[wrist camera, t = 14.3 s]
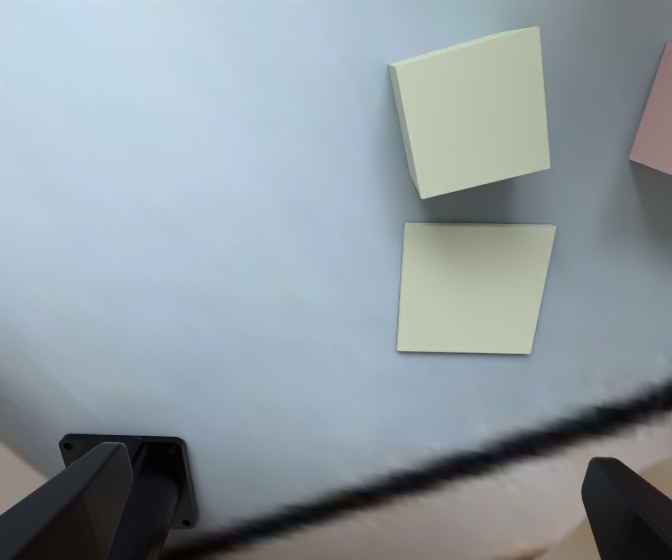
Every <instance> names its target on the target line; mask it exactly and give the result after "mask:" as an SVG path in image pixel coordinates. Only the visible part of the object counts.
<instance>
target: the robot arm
mask: <svg viewBox="0 0 672 560" xmlns="http://www.w3.org/2000/svg"><path fill="white" fill-rule="evenodd" d="M172 446H174V447H176V448H174V447H172ZM59 448H60V451H61V454H62V457H63V460H64V463H65V466H66V469H64V470H63V471H61V472H60V473H59V474H57V475H56V476H55V477H53V478H52V479H50V480H49V481H48V482H46V483H45V484H43V485H42V486H41V487H39V488H38V489H36V490H35V491H34V492H33V493H31V494H30V495H28V496H27V497H25V498H24V499H22V500H21V501H20V502H18V503H17V504H16V505H14V506H13V507H12V508H10V509H9V510H7V511H6V512H4V513H3V514H2V515H0V560H158V558H159V555H160V553H161V550H162V548H163V545H164V543H165V540H166V537H167V535H168V532H169V530H170V528H173V529H191V528H194V526H195V524H196V522H197V512H196V506H195V500H194V495H193V489H192V484H191V478H190V472H189V467H188V461H187V455H186V450H185V444H184V442H183V441H182V440H181V439H180V438H178V437H164V436H130V435H97V434H66V435H65V436H64V437H63V438H62V439H61V441H60V442H59ZM581 495H582V500H583V504H584V507H585V510H586V513H587V517H588V520H589V523H590V526H591V529H592V533H593V536H594V539H595V542H596V545H597V548H598V552H599V555H600V558H601V560H672V500H671V499H670V498H668V497H667V496H666V495H664V494H663V493H662V492H660V491H659V490H658V489H656V488H655V487H654V486H652V485H651V484H650V483H649V482H647V481H646V480H645V479H643V478H642V477H641V476H639V475H638V474H637V473H635V472H634V471H633V470H631V469H630V468H629V467H627V466H626V465H625V464H623V463H622V462H621V461H619V460H618V459H616V458H612V457H593V458H592V459H591V460H590V462H589V464H588V468H587V471H586V474H585V478H584V481H583V484H582V489H581Z"/></svg>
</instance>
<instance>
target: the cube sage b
mask: <svg viewBox="0 0 672 560" xmlns="http://www.w3.org/2000/svg"><path fill="white" fill-rule="evenodd" d="M388 68H389V73H390V78H391V83H392V88H393V93H394V98H395V103H396V108H397V113H398V118H399V123H400V128H401V133H402V138H403V143H404V148H405V153H406V158H407V163H408V168H409V172H410V175H411V177H412V179H413V182H414V184H415V186H416V188H417V191H418V193H419V195H420V198H421V199H425V198H429V197H433V196H437V195H441V194H446V193H450V192H454V191H458V190H462V189H466V188H471V187H475V186H479V185H483V184H487V183H491V182H495V181H500V180H504V179H508V178H512V177H516V176H520V175H524V174H529V173H533V172H537V171H541V170H545V169H549V168H550V156H549V143H548V130H547V118H546V105H545V92H544V79H543V66H542V54H541V41H540V28H539V26H536V27H530V28H523V29H517V30H511V31H505V32H500V33H496V34H493V35H489V36H486V37H482V38H479V39H475V40H472V41H468V42H465V43H461V44H458V45H454V46H451V47H447V48H444V49H440V50H437V51H433V52H430V53H426V54H423V55H419V56H416V57H412V58H409V59H405V60H401V61H398V62H394V63H391V64H388Z"/></svg>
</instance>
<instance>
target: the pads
mask: <svg viewBox="0 0 672 560" xmlns="http://www.w3.org/2000/svg"><path fill="white" fill-rule="evenodd" d="M555 232H556V227H555V226H554V225H553V224H481V223H404V235H403V251H402V267H401V282H400V298H399V314H398V330H397V345H396V346H397V351H424V352H468V353H511V354H530V353H531V348H532V343H533V339H534V334H535V329H536V324H537V319H538V314H539V310H540V305H541V300H542V295H543V290H544V285H545V280H546V276H547V271H548V266H549V261H550V256H551V251H552V246H553V242H554V237H555Z"/></svg>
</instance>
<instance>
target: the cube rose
mask: <svg viewBox="0 0 672 560" xmlns="http://www.w3.org/2000/svg"><path fill="white" fill-rule="evenodd" d="M629 159H630V160H633V161H636V162H638V163H641V164H643V165H646V166H649V167H651V168H654V169H656V170H659V171H662V172H664V173H667V174H669V175H672V42H667V43H666V46H665V49H664V52H663V55H662V58H661V61H660V64H659V67H658V70H657V73H656V76H655V79H654V82H653V85H652V89H651V92H650V95H649V98H648V101H647V104H646V107H645V110H644V113H643V116H642V119H641V122H640V125H639V128H638V131H637V134H636V138H635V141H634V144H633V147H632V150H631V153H630V156H629Z"/></svg>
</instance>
